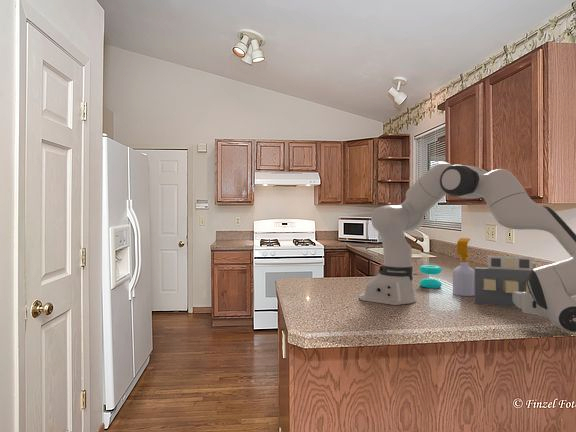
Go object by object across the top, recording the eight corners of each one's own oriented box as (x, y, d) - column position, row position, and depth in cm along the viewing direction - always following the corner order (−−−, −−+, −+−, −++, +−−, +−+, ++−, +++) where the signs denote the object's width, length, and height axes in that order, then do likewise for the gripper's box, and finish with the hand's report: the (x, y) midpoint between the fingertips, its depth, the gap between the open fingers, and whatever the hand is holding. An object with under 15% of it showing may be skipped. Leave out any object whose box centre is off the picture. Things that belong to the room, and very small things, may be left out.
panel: (475, 303, 144) (475, 255, 144) (474, 301, 147) (474, 254, 147) (547, 309, 135) (548, 258, 135) (545, 307, 138) (545, 257, 137)
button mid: (506, 292, 136) (506, 281, 136) (503, 288, 143) (503, 278, 143) (518, 293, 135) (518, 282, 135) (514, 289, 141) (514, 279, 141)
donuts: (416, 264, 182) (436, 264, 182) (416, 284, 182) (436, 284, 182) (423, 267, 172) (445, 267, 172) (423, 288, 172) (445, 288, 172)
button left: (484, 289, 142) (484, 279, 142) (482, 286, 148) (482, 276, 148) (495, 290, 140) (495, 280, 140) (493, 287, 147) (493, 277, 147)
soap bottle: (478, 294, 161) (478, 238, 160) (471, 297, 154) (471, 239, 154) (456, 291, 167) (457, 237, 167) (449, 294, 160) (449, 238, 160)
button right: (526, 292, 136) (526, 282, 136) (522, 289, 143) (522, 278, 143) (539, 293, 135) (539, 282, 135) (534, 289, 141) (534, 279, 141)
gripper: (600, 297, 105) (582, 288, 118) (517, 292, 113) (509, 284, 125) (600, 319, 105) (582, 308, 118) (517, 312, 113) (509, 302, 125)
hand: (544, 295), depth 122 cm, fingers closed
